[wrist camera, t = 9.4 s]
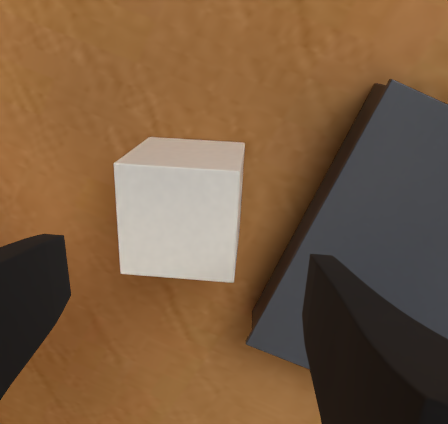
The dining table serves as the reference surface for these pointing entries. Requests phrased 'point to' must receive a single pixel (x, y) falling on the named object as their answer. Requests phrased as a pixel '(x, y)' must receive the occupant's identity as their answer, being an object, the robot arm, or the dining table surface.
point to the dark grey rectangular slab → (372, 220)
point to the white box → (180, 208)
